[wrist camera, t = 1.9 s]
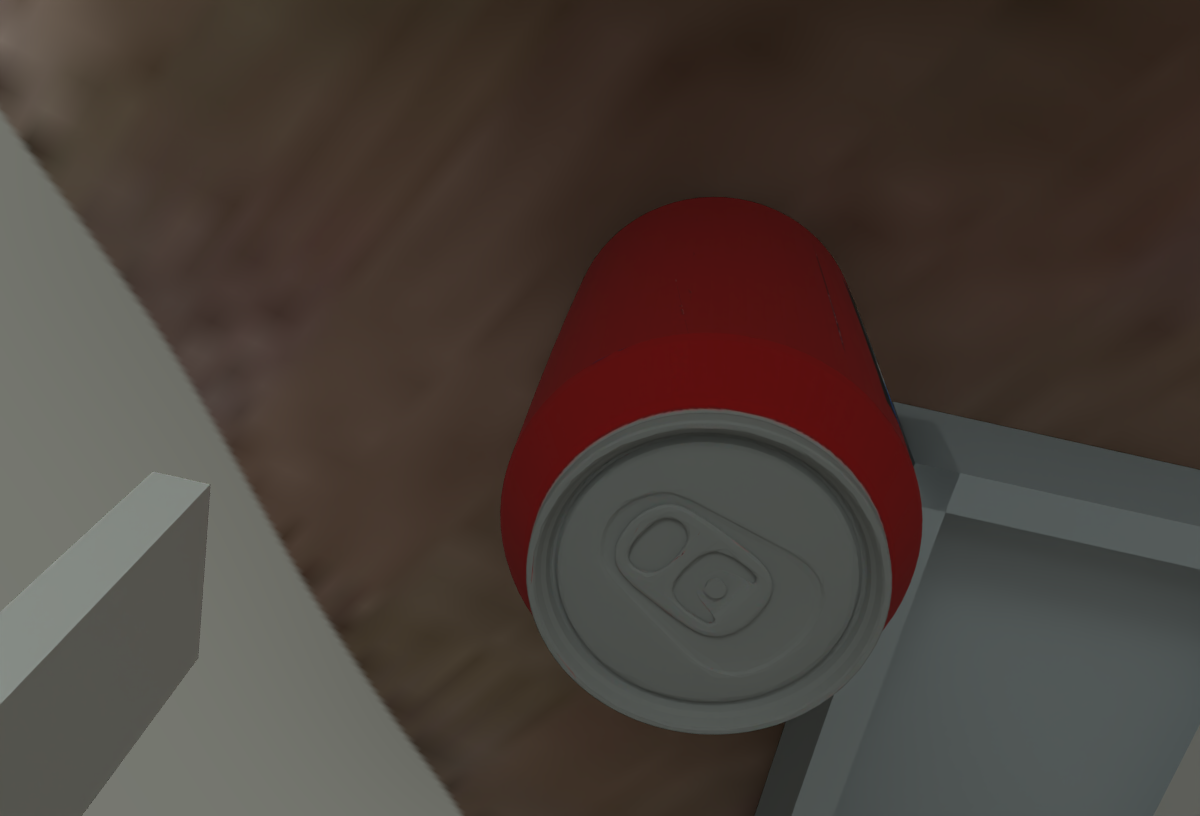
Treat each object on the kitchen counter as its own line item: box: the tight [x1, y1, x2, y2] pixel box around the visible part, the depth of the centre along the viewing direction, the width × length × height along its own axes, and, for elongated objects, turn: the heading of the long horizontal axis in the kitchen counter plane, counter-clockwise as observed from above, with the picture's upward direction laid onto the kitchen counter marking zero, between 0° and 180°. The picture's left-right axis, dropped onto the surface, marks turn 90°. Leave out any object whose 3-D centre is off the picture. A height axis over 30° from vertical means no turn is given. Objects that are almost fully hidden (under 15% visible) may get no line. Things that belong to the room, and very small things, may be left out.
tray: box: [755, 402, 1200, 816], centre depth 29 cm, size 16×12×4 cm
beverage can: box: [500, 197, 923, 735], centre depth 22 cm, size 7×7×12 cm
